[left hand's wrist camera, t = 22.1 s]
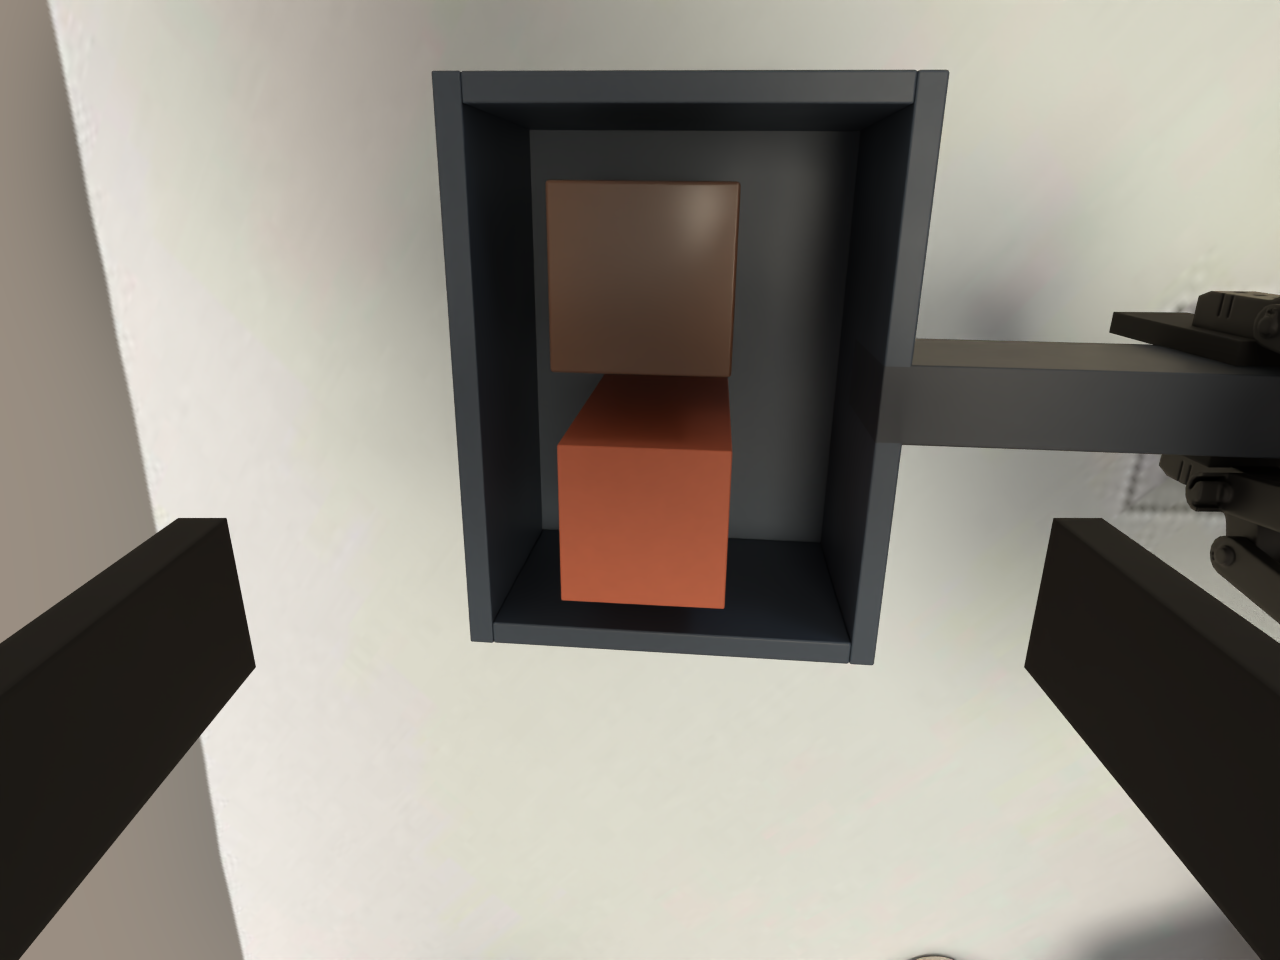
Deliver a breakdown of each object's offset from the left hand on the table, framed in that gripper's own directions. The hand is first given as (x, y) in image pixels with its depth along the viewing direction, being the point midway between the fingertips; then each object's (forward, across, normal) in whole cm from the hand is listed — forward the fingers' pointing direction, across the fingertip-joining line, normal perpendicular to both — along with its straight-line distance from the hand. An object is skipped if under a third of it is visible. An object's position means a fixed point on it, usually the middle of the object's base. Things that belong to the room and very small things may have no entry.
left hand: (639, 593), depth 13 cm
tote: (+20, +9, 0) cm, 22 cm away
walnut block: (+20, +1, +4) cm, 20 cm away
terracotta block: (+20, +1, -3) cm, 20 cm away
